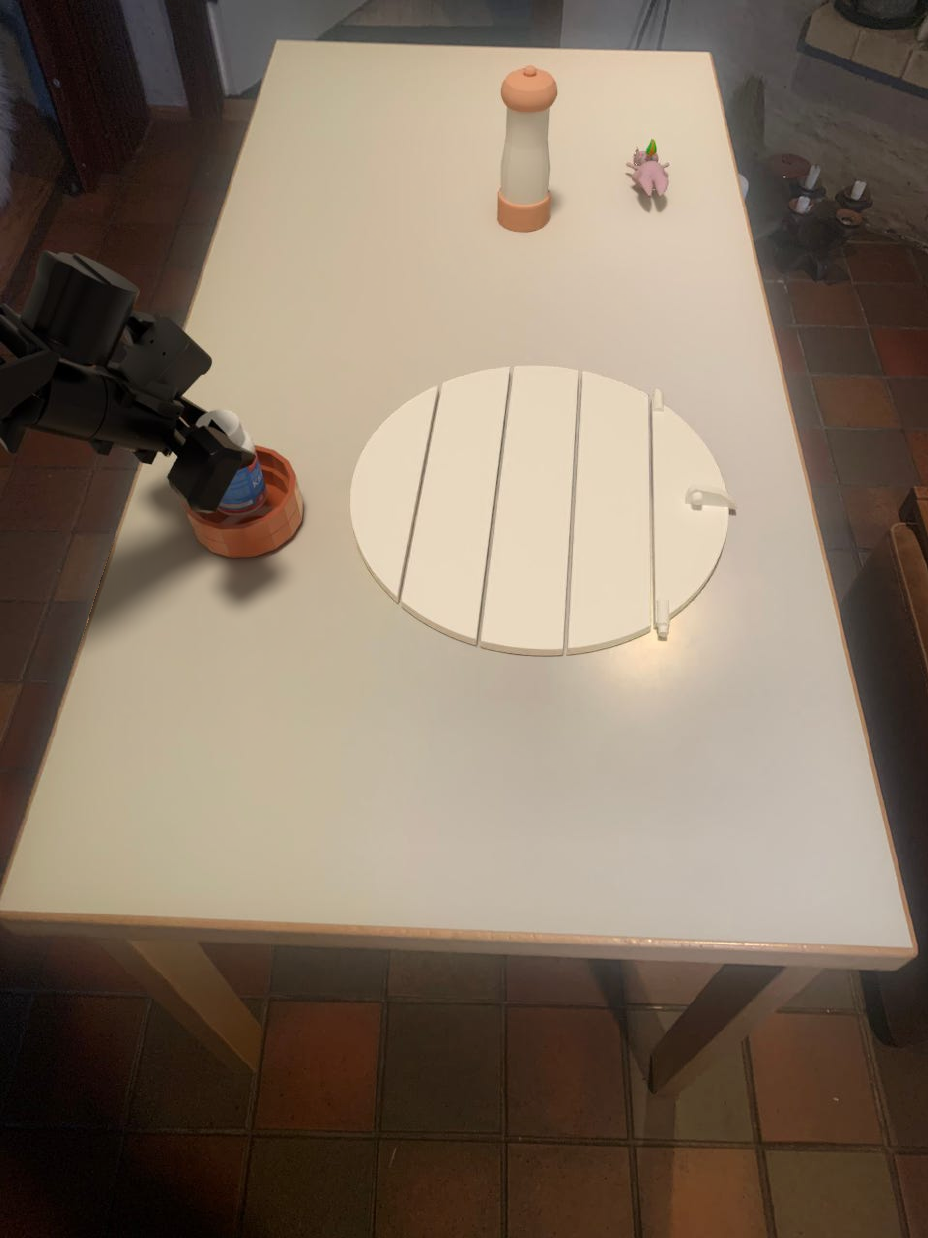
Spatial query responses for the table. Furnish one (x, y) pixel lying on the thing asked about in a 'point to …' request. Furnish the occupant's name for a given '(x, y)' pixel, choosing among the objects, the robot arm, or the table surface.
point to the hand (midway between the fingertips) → (237, 443)
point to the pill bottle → (247, 482)
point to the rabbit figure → (649, 170)
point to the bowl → (255, 514)
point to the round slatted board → (539, 510)
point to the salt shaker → (526, 150)
